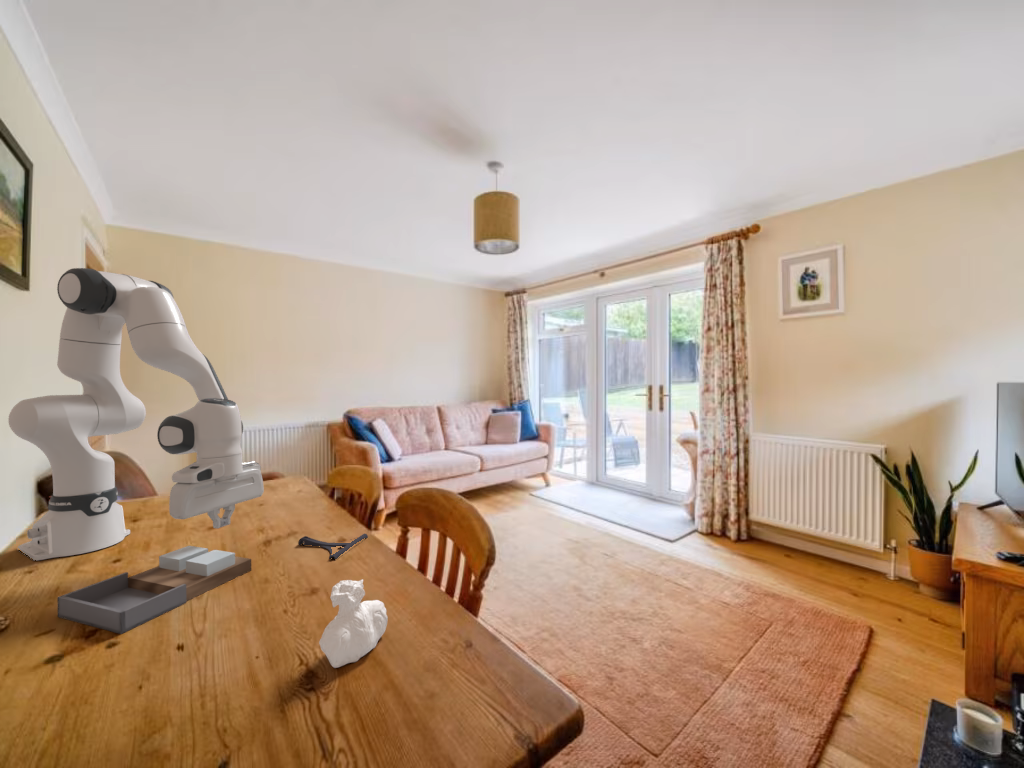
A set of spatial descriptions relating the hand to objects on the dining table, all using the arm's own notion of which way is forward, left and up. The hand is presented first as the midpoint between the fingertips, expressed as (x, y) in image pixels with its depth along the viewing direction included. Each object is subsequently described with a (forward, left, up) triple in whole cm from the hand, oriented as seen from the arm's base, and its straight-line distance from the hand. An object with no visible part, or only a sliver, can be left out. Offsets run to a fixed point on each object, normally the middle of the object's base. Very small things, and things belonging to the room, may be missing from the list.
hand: (221, 526), depth 97 cm
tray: (+3, -21, -8) cm, 23 cm away
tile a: (-1, -8, -5) cm, 10 cm away
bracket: (+17, +14, -9) cm, 24 cm away
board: (+3, -9, -8) cm, 12 cm away
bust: (+51, -18, -8) cm, 55 cm away
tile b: (+7, -8, -5) cm, 12 cm away
